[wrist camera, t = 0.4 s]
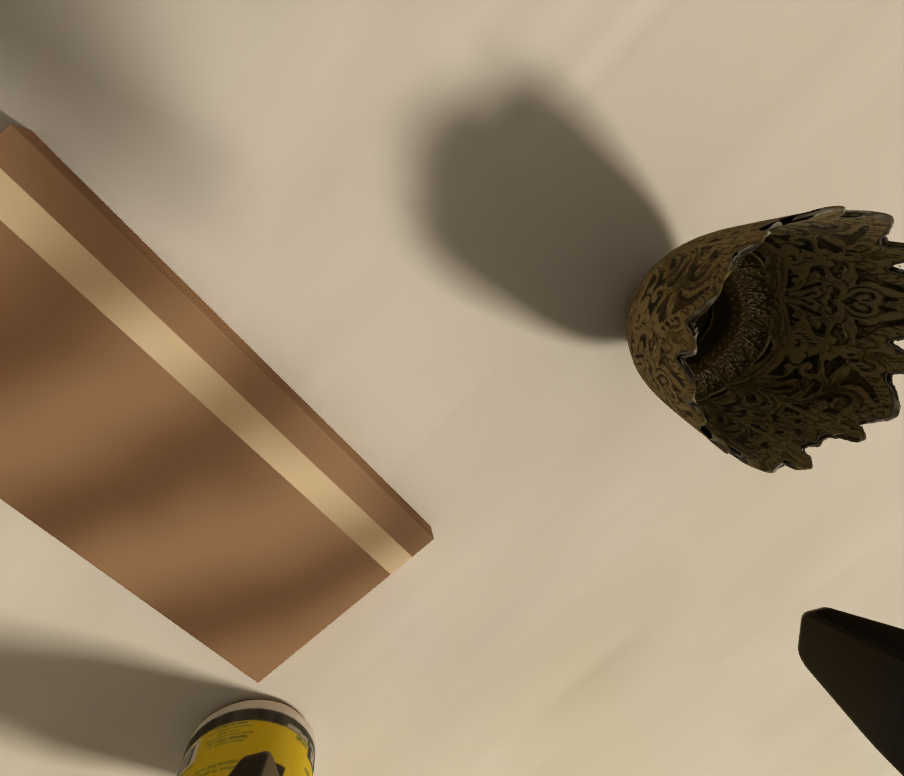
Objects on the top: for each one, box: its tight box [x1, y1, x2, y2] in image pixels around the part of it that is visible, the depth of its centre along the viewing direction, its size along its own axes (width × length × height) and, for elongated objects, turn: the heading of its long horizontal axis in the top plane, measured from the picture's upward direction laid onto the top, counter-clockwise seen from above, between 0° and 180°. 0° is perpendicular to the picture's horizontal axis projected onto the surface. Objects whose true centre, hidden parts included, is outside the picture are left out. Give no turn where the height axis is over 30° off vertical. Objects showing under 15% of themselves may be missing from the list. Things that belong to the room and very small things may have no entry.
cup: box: [627, 206, 904, 473], centre depth 18 cm, size 8×7×8 cm
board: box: [0, 124, 434, 682], centre depth 19 cm, size 20×10×1 cm, turn 39°
